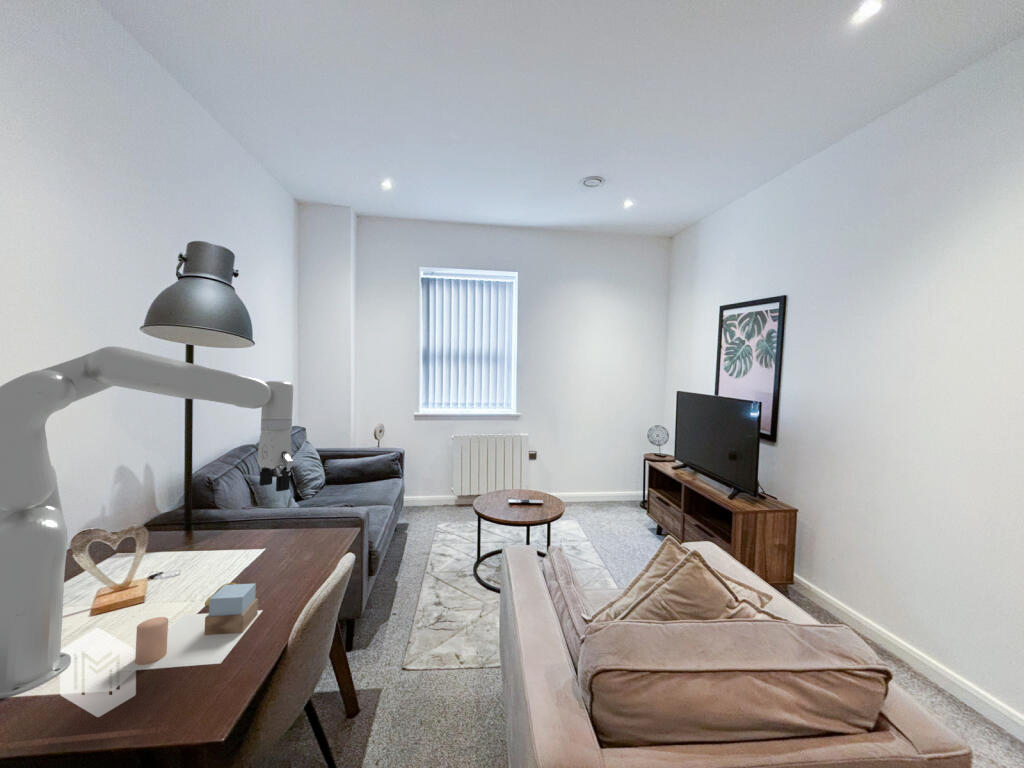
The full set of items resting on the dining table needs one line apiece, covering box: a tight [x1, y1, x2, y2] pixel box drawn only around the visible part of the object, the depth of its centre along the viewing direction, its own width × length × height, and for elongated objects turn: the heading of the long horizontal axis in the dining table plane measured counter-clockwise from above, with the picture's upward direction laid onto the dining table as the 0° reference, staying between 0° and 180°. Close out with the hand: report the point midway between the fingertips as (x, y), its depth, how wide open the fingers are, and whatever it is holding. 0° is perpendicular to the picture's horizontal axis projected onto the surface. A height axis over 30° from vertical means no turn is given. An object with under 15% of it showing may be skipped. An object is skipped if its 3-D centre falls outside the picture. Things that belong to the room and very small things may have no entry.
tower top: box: [208, 583, 257, 616], centre depth 99 cm, size 7×7×4 cm
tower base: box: [204, 598, 259, 635], centre depth 99 cm, size 8×8×4 cm
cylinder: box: [134, 616, 169, 665], centre depth 87 cm, size 5×5×7 cm
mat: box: [120, 609, 264, 672], centre depth 94 cm, size 18×21×1 cm
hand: (273, 487), depth 114 cm, fingers open, 9 cm apart
